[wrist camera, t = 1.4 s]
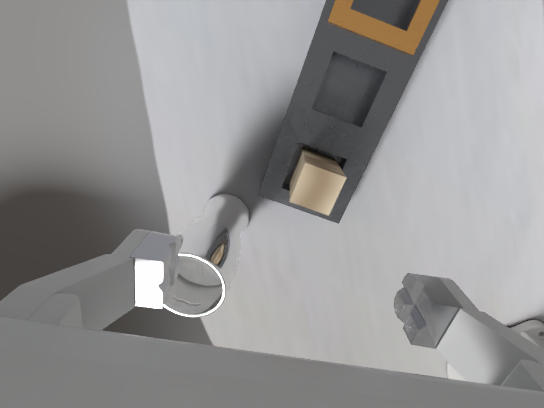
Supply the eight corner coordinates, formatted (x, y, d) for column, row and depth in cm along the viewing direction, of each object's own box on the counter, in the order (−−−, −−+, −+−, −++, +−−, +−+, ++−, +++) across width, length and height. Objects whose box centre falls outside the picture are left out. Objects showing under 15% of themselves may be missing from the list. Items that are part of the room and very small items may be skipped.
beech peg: (334, 158, 33) (346, 177, 26) (321, 189, 35) (328, 215, 27) (302, 146, 33) (305, 162, 25) (290, 178, 34) (289, 201, 27)
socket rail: (353, -78, 26) (363, -105, 23) (452, -37, 27) (476, -56, 23) (260, 185, 36) (257, 195, 32) (334, 211, 37) (339, 224, 33)
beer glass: (216, 180, 36) (168, 235, 22) (262, 209, 37) (244, 279, 23) (191, 221, 39) (134, 294, 25) (235, 247, 40) (204, 331, 26)
